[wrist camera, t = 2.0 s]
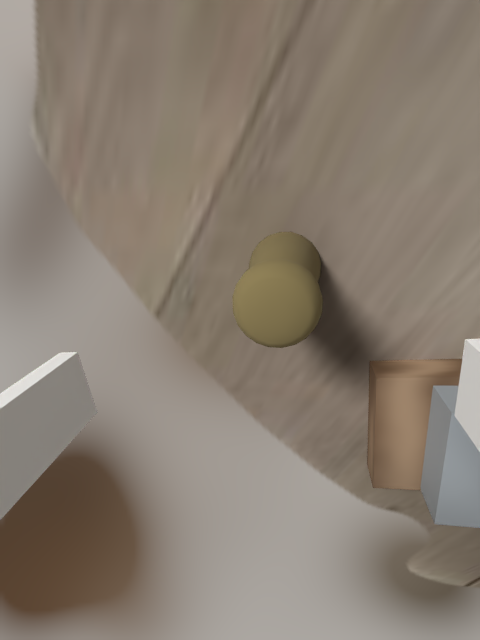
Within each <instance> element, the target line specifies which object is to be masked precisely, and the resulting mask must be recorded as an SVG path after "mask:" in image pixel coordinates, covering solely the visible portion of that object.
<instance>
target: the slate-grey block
mask: <svg viewBox="0 0 480 640" xmlns="http://www.w3.org/2000/svg"><path fill="white" fill-rule="evenodd" d="M458 387H459V386H433V390H432V398H431V406H430V414H429V423H428V431H427V439H426V447H425V455H424V463H423V471H422V479H421V487H420V489H421V491H422V494H423V496H424V499H425V501H426V504H427V506H428V509H429V511H430V514H431V516H432V519H433V521H434V524H439V525H451V526H463V527H475V528H480V452H479V450H478V449H477V447H476V446H475V445H474V443H473V442H472V440H471V439H470V437H469V436H468V434H467V433H466V432H465V430H464V429H463V427H462V426H461V424H460V423H459V421H458V420H457V419H456V417H455V416H454V415H455V408H456V401H457V394H458Z"/></svg>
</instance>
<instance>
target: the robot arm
mask: <svg viewBox="0 0 480 640" xmlns="http://www.w3.org/2000/svg"><path fill="white" fill-rule="evenodd" d="M96 414H97V410H96V406H95V403H94V400H93V398H92V395H91V392H90V388H89V385H88V382H87V379H86V376H85V373H84V370H83V367H82V364H81V361H80V358H79V355H78V352H66V353H59V354H57V355H56V356H54V357H53V358H52V359H50V360H49V361H47V362H46V363H44V364H43V365H41V366H40V367H38V368H37V369H35V370H34V371H32V372H31V373H30V374H28V375H27V376H25V377H24V378H22V379H21V380H19V381H18V382H16V383H15V384H13V385H12V386H11V387H9V388H7V389H6V390H5V391H3V392H2V393H0V520H1V518H3V516H4V515H5V514H6V513H7V512H8V511H9V510H10V509H11V508H12V507H13V505H14V504H15V503H16V502H17V501H18V500H19V499H20V498H21V496H22V495H23V494H24V493H25V492H26V491H27V490H28V489H29V488H30V487H31V485H32V484H33V483H34V482H35V481H36V480H37V479H38V478H39V476H41V474H42V473H43V472H44V471H45V470H46V469H47V468H48V467H49V466H50V464H51V463H52V462H53V461H54V460H55V459H56V458H57V457H58V456H59V455H60V453H61V452H62V451H63V450H64V449H65V448H66V447H67V446H68V445H69V443H70V442H71V441H72V440H73V439H74V438H75V437H76V435H77V434H78V433H79V432H80V431H81V430H82V429H83V428H84V427H85V426H86V425H87V424H88V422H89V421H90V420H91V419H92V418H93V417H94V416H95V415H96ZM454 416H455V417H456V419H457V420H458V421H459V423H460V424H461V426H462V427H463V429H464V430H465V432H466V433H467V434H468V436H469V437H470V439H471V440H472V442H473V443H474V445H475V446H476V447H477V449H478V450H479V452H480V339H465V344H464V351H463V358H462V365H461V373H460V380H459V387H458V394H457V401H456V408H455V415H454Z"/></svg>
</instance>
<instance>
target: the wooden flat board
mask: <svg viewBox="0 0 480 640" xmlns="http://www.w3.org/2000/svg"><path fill="white" fill-rule="evenodd" d="M461 365H462V359H435V360H389V361H370V367H369V412H368V456H367V465H368V469H369V473H370V477H371V481H372V485H373V488H388V489H407V490H421V489H420V487H421V479H422V471H423V463H424V455H425V447H426V439H427V431H428V423H429V414H430V406H431V398H432V390H433V386H459V380H460V373H461Z"/></svg>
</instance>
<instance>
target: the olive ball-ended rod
mask: <svg viewBox="0 0 480 640" xmlns="http://www.w3.org/2000/svg"><path fill="white" fill-rule="evenodd" d="M320 274H321V261H320V257H319V253H318V251H317V250H316V248H315V247H314V245H313V244H312V242H310V241H309V240H307V239H306V238H305V237H303V236H302V235H299V234H296V233H293V232H279V233H276V234H273V235H270V236H268V237H266V238H265V239H264V240H262V241H261V242H260V243H259V244H258V245H257V247H256V248H255V250H254V251H253V253H252V256H251V259H250V263H249V269H248V270H247V271H246V272H245V273H244V274H243V276H242V277H241V279H240V280H239V281H238V283H237V284H236V287H235V291H234V294H233V314H234V316H235V319H236V322H237V324H238V326H239V327H240V329H241V330H242V331H243V332H244V334H245V335H246V336H247V337H249V338H250V339H252V340H253V341H254V342H256V343H258V344H261V345H264V346H267V347H276V348H283V347H287V346H292V345H295V344H297V343H299V342H300V341H302V340H304V339H306V338H307V337H308V336H309V334H310V333H311V332H312V331H313V330H314V329H315V328H316V326H317V324H318V321H319V319H320V317H321V314H322V305H323V298H322V294H321V291H320V287H319V284H318V280H319V277H320Z"/></svg>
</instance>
